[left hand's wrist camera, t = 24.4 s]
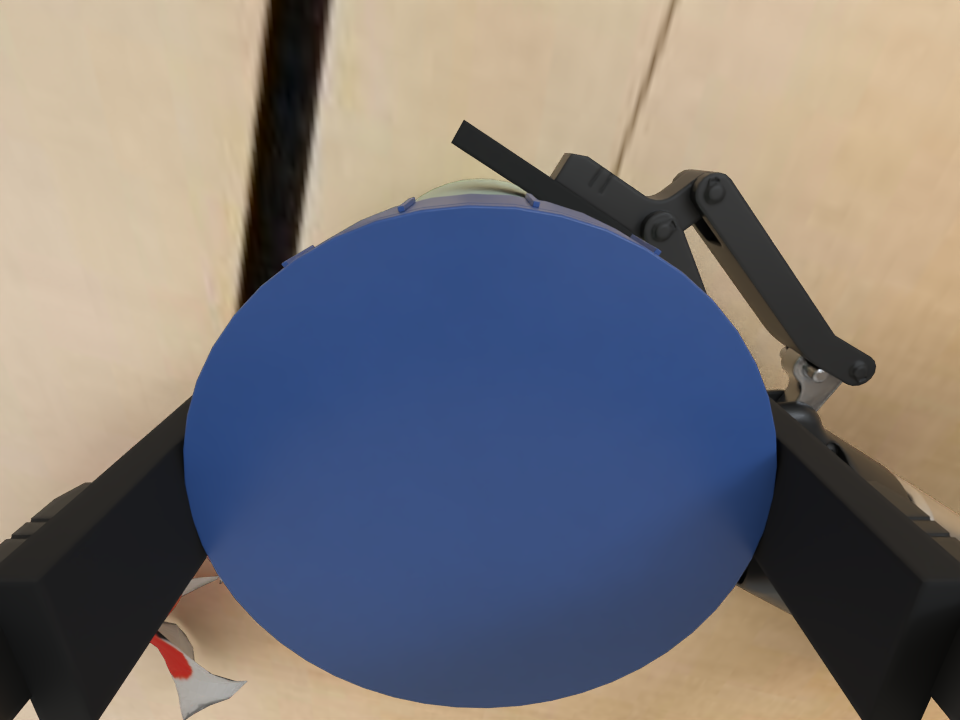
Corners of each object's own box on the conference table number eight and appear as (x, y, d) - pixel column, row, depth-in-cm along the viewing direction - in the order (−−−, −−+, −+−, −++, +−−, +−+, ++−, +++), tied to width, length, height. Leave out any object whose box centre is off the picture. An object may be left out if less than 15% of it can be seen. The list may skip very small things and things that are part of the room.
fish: (319, 544, 25) (124, 775, 18) (301, 635, 37) (175, 801, 30) (146, 420, 27) (-94, 591, 20) (179, 544, 38) (33, 682, 31)
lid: (298, 99, 10) (250, 87, 8) (828, 310, 11) (906, 347, 9) (193, 560, 14) (143, 633, 12) (597, 672, 15) (615, 755, 13)
